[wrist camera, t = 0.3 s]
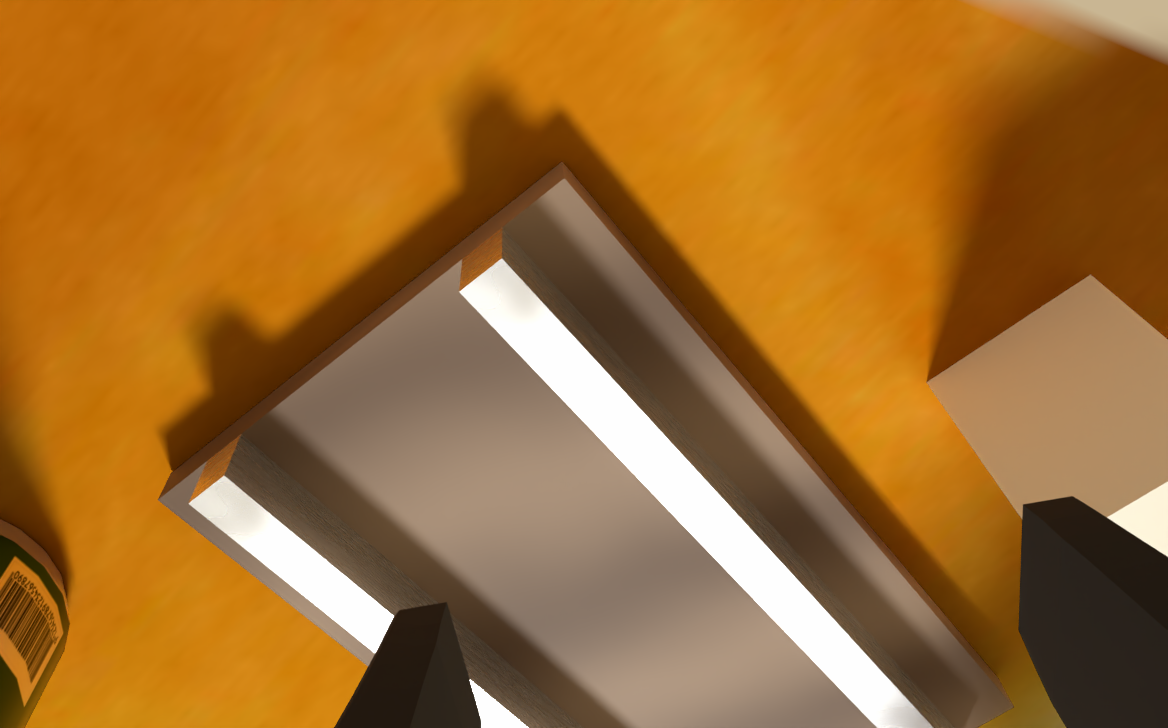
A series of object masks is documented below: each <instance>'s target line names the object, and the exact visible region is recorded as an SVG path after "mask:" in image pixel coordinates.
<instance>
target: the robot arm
mask: <svg viewBox="0 0 1168 728" xmlns="http://www.w3.org/2000/svg"><path fill="white" fill-rule="evenodd" d="M1019 632H1020V634H1021V637H1022V639H1023V641H1024V643H1025V646H1026V648H1027V650H1028V652H1029V655H1030V657H1031V659H1032V661H1033V664H1034V666H1035V668H1036V671H1037V673H1038V675H1039V677H1040V679H1041V681H1042V683H1043V685H1044V687H1045V690H1046V692H1047V694H1048V696H1049V698H1050V700H1051V702H1052V704H1053V706H1054V708H1055V709H1056V711H1057V713H1058V714H1059V716H1060V718H1061V719H1062V721H1063V723H1064V724H1065V726H1066V727H1067V728H1168V557H1167V556H1166V555H1164V554H1163V553H1161V552H1160V551H1158V550H1156V549H1155V548H1153V547H1152V546H1150V545H1149V544H1147V543H1146V542H1144V541H1142V540H1141V539H1139V538H1138V537H1136V536H1135V535H1133V534H1132V533H1130V532H1128V531H1127V530H1125V529H1124V528H1122V527H1121V526H1119V525H1118V524H1116V523H1115V522H1113V521H1112V520H1110V519H1108V518H1107V517H1105V516H1104V515H1102V514H1101V513H1099V512H1098V511H1096V510H1094V509H1093V508H1091V507H1090V506H1088V505H1087V504H1085V503H1083V502H1082V501H1080V500H1078V499H1077V498H1075V497H1073V496H1070V497H1064V498H1058V499H1052V500H1046V501H1040V502H1034V503H1028V504H1023V516H1022V546H1021V575H1020V605H1019ZM334 728H482V719H481V716H480V713H479V709H478V706H477V702H476V699H475V696H474V692H473V689H472V686H471V682H470V679H469V675H468V672H467V669H466V665H465V662H464V659H463V655H462V652H461V648H460V645H459V642H458V638H457V635H456V631H455V628H454V625H453V621H452V618H451V615H450V611H449V608H448V604H447V602H444V603H438V604H432V605H426V606H420V607H414V608H409V609H403V610H399V611H398V612H397V613H396V615H395V616H394V617H393V619H392V621H391V623H390V625H389V627H388V629H387V631H386V633H385V635H384V637H383V639H382V641H381V643H380V645H379V647H378V649H377V651H376V653H375V655H374V656H373V658H372V660H371V662H370V664H369V666H368V668H367V670H366V672H365V674H364V676H363V677H362V679H361V681H360V683H359V685H358V687H357V689H356V690H355V692H354V694H353V696H352V698H351V700H350V701H349V703H348V705H347V706H346V708H345V710H344V712H343V713H342V715H341V717H340V719H339V720H338V722H337V724H336V726H335V727H334Z"/></svg>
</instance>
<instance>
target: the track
mask: <svg viewBox="0 0 1168 728" xmlns="http://www.w3.org/2000/svg"><path fill="white" fill-rule="evenodd" d="M158 500H159V501H160V502H161V503H162V504H164V505H165V506H166V507H168V508H169V509H170V510H171V511H173V512H174V513H175V514H176V515H178V516H179V517H180V518H181V519H183V520H184V521H185V522H186V523H188V524H189V525H190V526H192V527H193V528H194V529H195V530H197V531H198V532H199V533H200V534H202V535H203V536H204V537H205V538H207V539H208V540H209V541H210V542H212V543H213V544H214V545H216V546H217V547H218V548H219V549H221V550H222V551H223V552H224V553H226V554H227V555H228V556H229V557H231V558H232V559H233V560H234V561H236V562H237V563H238V564H240V565H241V566H242V567H243V568H245V569H246V570H247V571H248V572H250V573H251V574H252V575H253V576H255V577H256V578H257V579H258V580H260V581H261V582H262V583H264V584H265V585H266V586H267V587H269V588H270V589H271V590H272V591H274V592H275V593H276V594H277V595H279V596H280V597H281V598H282V599H284V600H285V601H286V602H288V603H289V604H290V605H291V606H293V607H294V608H295V609H296V610H298V611H299V612H300V613H301V614H303V615H304V616H305V617H307V618H308V619H309V620H310V621H312V622H313V623H314V624H315V625H317V626H318V627H319V628H320V629H322V630H323V631H324V632H325V633H327V634H328V635H329V636H331V637H332V638H333V639H334V640H336V641H337V642H338V643H339V644H341V645H342V646H343V647H344V648H346V649H347V650H348V651H349V652H351V653H352V654H353V655H355V656H356V657H357V658H358V659H360V660H361V661H362V662H363V663H365V664H366V665H367V666H369V664H370V662H371V660H372V658H373V656H374V655H375V653H376V651H377V649H378V647H379V645H380V643H381V641H382V639H383V637H384V635H385V633H386V631H387V629H388V627H389V625H390V623H391V621H392V619H393V617H394V616H395V615H396V613H397V612H398V611H399V610H403V609H409V608H414V607H420V606H426V605H432V604H438V603H444V602H447V604H448V608H449V611H450V615H451V618H452V621H453V625H454V628H455V631H456V635H457V638H458V642H459V645H460V648H461V652H462V655H463V659H464V662H465V665H466V669H467V672H468V675H469V679H470V682H471V686H472V689H473V692H474V696H475V699H476V702H477V706H478V709H479V713H480V716H481V719H482V728H977V727H979V726H981V725H983V724H985V723H986V722H988V721H990V720H992V719H994V718H995V717H997V716H999V715H1001V714H1003V713H1004V712H1006V711H1008V710H1010V709H1012V708H1013V707H1014V706H1013V704H1012V703H1011V701H1010V699H1009V697H1008V695H1007V693H1006V692H1005V690H1004V688H1003V686H1002V684H1001V682H1000V681H999V679H998V677H997V676H996V675H995V674H994V673H993V671H992V670H991V669H990V668H989V667H988V665H987V664H986V663H985V662H984V661H983V660H982V658H981V657H980V656H979V655H978V654H977V652H976V651H975V650H974V649H973V648H972V647H971V645H970V644H969V643H968V642H967V641H966V639H965V638H964V637H963V636H962V635H961V633H960V632H959V631H958V630H957V629H956V628H955V626H954V625H953V624H952V623H951V622H950V620H949V619H948V618H947V617H946V616H945V615H944V613H943V612H942V611H941V610H940V609H939V607H938V606H937V605H936V604H935V603H934V601H933V600H932V599H931V598H930V597H929V596H928V594H927V593H926V592H925V591H924V590H923V588H922V587H921V586H920V585H919V584H918V583H917V581H916V580H915V579H914V578H913V577H912V575H911V574H910V573H909V572H908V571H907V569H906V568H905V567H904V566H903V565H902V564H901V562H900V561H899V560H898V559H897V558H896V556H895V555H894V554H893V553H892V552H891V551H890V549H889V548H888V547H887V546H886V545H885V543H884V542H883V541H882V540H881V539H880V537H879V536H878V535H877V534H876V533H875V532H874V530H873V529H872V528H871V527H870V526H869V524H868V523H867V522H866V521H865V520H864V519H863V517H862V516H861V515H860V514H859V513H858V511H857V510H856V509H855V508H854V507H853V505H852V504H851V503H850V502H849V501H848V500H847V498H846V497H845V496H844V495H843V494H842V492H841V491H840V490H839V489H838V488H837V487H836V485H835V484H834V483H833V482H832V481H831V479H830V478H829V477H828V476H827V475H826V473H825V472H824V471H823V470H822V469H821V468H820V466H819V465H818V464H817V463H816V462H815V460H814V459H813V458H812V457H811V456H810V455H809V453H808V452H807V451H806V450H805V449H804V447H803V446H802V445H801V444H800V443H799V441H798V440H797V439H796V438H795V437H794V436H793V434H792V433H791V432H790V431H789V430H788V428H787V427H786V426H785V425H784V424H783V423H782V421H781V420H780V419H779V418H778V417H777V415H776V414H775V413H774V412H773V411H772V409H771V408H770V407H769V406H768V405H767V404H766V402H765V401H764V400H763V399H762V398H761V396H760V395H759V394H758V393H757V392H756V391H755V389H754V388H753V387H752V386H751V385H750V383H749V382H748V381H747V380H746V379H745V378H744V376H743V375H742V374H741V373H740V372H739V370H738V369H737V368H736V367H735V366H734V364H733V363H732V362H731V361H730V360H729V359H728V357H727V356H726V355H725V354H724V353H723V351H722V350H721V349H720V348H719V347H718V346H717V344H716V343H715V342H714V341H713V340H712V338H711V337H710V336H709V335H708V334H707V332H706V331H705V330H704V329H703V328H702V327H701V325H700V324H699V323H698V322H697V321H696V319H695V318H694V317H693V316H692V315H691V314H690V312H689V311H688V310H687V309H686V308H685V306H684V305H683V304H682V303H681V302H680V300H679V299H678V298H677V297H676V296H675V295H674V293H673V292H672V291H671V290H670V289H669V287H668V286H667V285H666V284H665V283H664V282H663V280H662V279H661V278H660V277H659V276H658V274H657V273H656V272H655V271H654V270H653V268H652V267H651V266H650V265H649V264H648V263H647V261H646V260H645V259H644V258H643V257H642V255H641V254H640V253H639V252H638V251H637V250H636V248H635V247H634V246H633V245H632V244H631V242H630V241H629V240H628V239H627V238H626V236H625V235H624V234H623V233H622V232H621V231H620V229H619V228H618V227H617V226H616V225H615V223H614V222H613V221H612V220H611V219H610V218H609V216H608V215H607V214H606V213H605V212H604V210H603V209H602V208H601V207H600V206H599V204H598V203H597V202H596V201H595V200H594V199H593V197H592V196H591V195H590V194H589V193H588V191H587V190H586V189H585V188H584V187H583V186H582V184H581V183H580V182H579V181H578V180H577V178H576V177H575V176H574V175H573V174H572V172H571V171H570V170H569V169H568V168H567V167H566V165H565V164H564V163H563V162H561V163H559V164H558V165H557V166H556V167H554V168H553V169H552V170H551V171H549V172H548V173H547V174H546V175H544V176H543V177H542V178H541V179H539V180H538V181H537V182H536V183H534V184H533V185H532V186H531V187H529V188H528V189H527V190H526V191H524V192H523V193H522V194H521V195H519V196H518V197H517V198H516V199H514V200H513V201H512V202H510V203H509V204H508V205H507V206H505V207H504V208H503V209H502V210H500V211H499V212H498V213H497V214H495V215H494V216H493V217H492V218H490V219H489V220H488V221H487V222H485V223H484V224H483V225H482V226H480V227H479V228H478V229H477V230H475V231H474V232H473V233H472V234H470V235H469V236H468V237H467V238H465V239H464V240H463V241H462V242H460V243H459V244H458V245H457V246H455V247H454V248H453V249H452V250H450V251H449V252H448V253H447V254H445V255H444V256H443V257H442V258H440V259H439V260H438V261H436V262H435V263H434V264H433V265H431V266H430V267H429V268H428V269H426V270H425V271H424V272H423V273H421V274H420V275H419V276H418V277H416V278H415V279H414V280H413V281H411V282H410V283H409V284H408V285H406V286H405V287H404V288H403V289H401V290H400V291H399V292H398V293H396V294H395V295H394V296H393V297H391V298H390V299H389V300H388V301H386V302H385V303H384V304H383V305H381V306H380V307H379V308H378V309H376V310H375V311H374V312H373V313H371V314H370V315H369V316H368V317H366V318H365V319H364V320H362V321H361V322H360V323H359V324H357V325H356V326H355V327H354V328H352V329H351V330H350V331H349V332H347V333H346V334H345V335H344V336H342V337H341V338H340V339H339V340H337V341H336V342H335V343H334V344H332V345H331V346H330V347H329V348H327V349H326V350H325V351H324V352H322V353H321V354H320V355H319V356H317V357H316V358H315V359H314V360H312V361H311V362H310V363H309V364H307V365H306V366H305V367H304V368H302V369H301V370H300V371H299V372H297V373H296V374H295V375H294V376H292V377H291V378H290V379H288V380H287V381H286V382H285V383H283V384H282V385H281V386H280V387H278V388H277V389H276V390H275V391H273V392H272V393H271V394H270V395H268V396H267V397H266V398H265V399H263V400H262V401H261V402H260V403H258V404H257V405H256V406H255V407H253V408H252V409H251V410H250V411H248V412H247V413H246V414H245V415H243V416H242V417H241V418H240V419H238V420H237V421H236V422H235V423H233V424H232V425H231V426H230V427H228V428H227V429H226V430H225V431H223V432H222V433H221V434H220V435H218V436H217V437H216V438H214V439H213V440H212V441H211V442H209V443H208V444H207V445H206V446H204V447H203V448H202V449H201V450H199V451H198V452H197V453H196V454H194V455H193V456H192V457H191V458H189V459H188V460H187V461H186V462H184V463H183V464H182V465H181V466H179V467H178V468H177V469H176V470H174V471H173V472H172V473H171V474H170V476H169V478H168V480H167V482H166V485H165V487H164V489H163V491H162V493H161V495H160V497H159V499H158Z"/></svg>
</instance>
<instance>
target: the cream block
mask: <svg viewBox="0 0 1168 728" xmlns="http://www.w3.org/2000/svg"><path fill="white" fill-rule="evenodd" d="M927 384H928V385H929V387H930V388H931V390H932V391H933V392H934V394H935V395H936V397H937V398H938V400H939V401H940V402H941V404H942V405H943V407H944V408H945V410H946V411H947V413H948V414H949V415H950V417H951V418H952V420H953V421H954V423H955V424H956V425H957V427H958V428H959V430H960V431H961V433H962V434H963V435H964V437H965V438H966V440H967V441H968V443H969V444H970V446H971V447H972V448H973V450H974V451H975V453H976V454H977V456H978V457H979V458H980V460H981V461H982V463H983V464H984V466H985V467H986V468H987V470H988V471H989V473H990V474H991V476H992V477H993V479H994V480H995V481H996V483H997V484H998V486H999V487H1000V489H1001V490H1002V491H1003V493H1004V494H1005V496H1006V497H1007V499H1008V500H1009V501H1010V503H1011V504H1012V506H1013V507H1014V509H1015V510H1016V512H1017V513H1018V514H1019V516H1020V517H1021V519H1022V516H1023V504H1028V503H1034V502H1040V501H1046V500H1052V499H1058V498H1064V497H1070V496H1073V497H1075V498H1077V499H1078V500H1080V501H1082V502H1083V503H1085V504H1087V505H1088V506H1090V507H1091V508H1093V509H1094V510H1096V511H1098V512H1099V513H1101V514H1102V515H1104V516H1105V517H1107V518H1108V519H1110V520H1112V521H1113V522H1115V523H1116V524H1118V525H1119V526H1121V527H1122V528H1124V529H1125V530H1127V531H1128V532H1130V533H1132V534H1133V535H1135V536H1136V537H1138V538H1139V539H1141V540H1142V541H1144V542H1146V543H1147V544H1149V545H1150V546H1152V547H1153V548H1155V549H1156V550H1158V551H1160V552H1161V553H1163V554H1164V555H1166V556H1167V557H1168V339H1167V338H1165V337H1164V336H1163V335H1162V334H1161V333H1159V332H1158V331H1157V330H1156V329H1155V328H1154V327H1152V326H1151V325H1150V324H1149V323H1148V322H1146V321H1145V320H1144V319H1143V318H1142V317H1140V316H1139V315H1138V314H1137V313H1136V312H1135V311H1133V310H1132V309H1131V308H1130V307H1129V306H1127V305H1126V304H1125V303H1124V302H1123V301H1122V300H1120V299H1119V298H1118V297H1117V296H1116V295H1114V294H1113V293H1112V292H1111V291H1110V290H1108V289H1107V288H1106V287H1105V286H1104V285H1103V284H1101V283H1100V282H1099V281H1098V280H1097V279H1095V278H1094V277H1093V276H1092V275H1089V276H1087V277H1086V278H1084V279H1083V280H1081V281H1080V282H1078V283H1077V284H1075V285H1074V286H1072V287H1071V288H1069V289H1068V290H1066V291H1065V292H1063V293H1062V294H1060V295H1059V296H1057V297H1056V298H1054V299H1052V300H1051V301H1049V302H1048V303H1046V304H1045V305H1043V306H1042V307H1040V308H1039V309H1037V310H1036V311H1034V312H1033V313H1031V314H1030V315H1028V316H1027V317H1025V318H1024V319H1022V320H1020V321H1019V322H1017V323H1016V324H1014V325H1013V326H1011V327H1010V328H1008V329H1007V330H1005V331H1004V332H1002V333H1001V334H999V335H998V336H996V337H995V338H993V339H992V340H990V341H989V342H987V343H985V344H984V345H982V346H981V347H979V348H978V349H976V350H975V351H973V352H972V353H970V354H969V355H967V356H966V357H964V358H963V359H961V360H960V361H958V362H957V363H955V364H954V365H952V366H950V367H949V368H947V369H946V370H944V371H943V372H941V373H940V374H938V375H937V376H935V377H934V378H932V379H931V380H929V381H928V382H927Z"/></svg>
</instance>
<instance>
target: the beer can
mask: <svg viewBox="0 0 1168 728" xmlns="http://www.w3.org/2000/svg"><path fill="white" fill-rule="evenodd" d="M69 625H70V622H69V613H68V604H67V598H66V593H65V589H64V585H63V580H62V576H61V574H60V572H59V571H58V569H57V568H56V566H55V565H54V563H53V562H52V560H51V559H50V557H49V556H48V554H47V553H46V551H45V550H44V549H43V548H42V547H41V546H39V545H38V544H37V543H36V542H35V541H33V540H32V539H31V538H30V537H29V536H28V535H26V534H25V533H24V532H23V531H22V530H21V529H19V528H17V527H15V526H13V525H11V524H9V523H7V522H5V521H3V520H1V519H0V728H25V726H26V724H27V722H28V720H29V718H30V716H31V714H32V713H33V711H34V709H35V707H36V705H37V703H38V701H39V699H40V697H41V695H42V693H43V691H44V689H45V687H46V685H47V683H48V681H49V679H50V677H51V675H52V674H53V672H54V670H55V668H56V666H57V664H58V662H59V660H60V658H61V656H62V654H63V652H64V649H65V644H66V640H67V635H68V630H69Z"/></svg>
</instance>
